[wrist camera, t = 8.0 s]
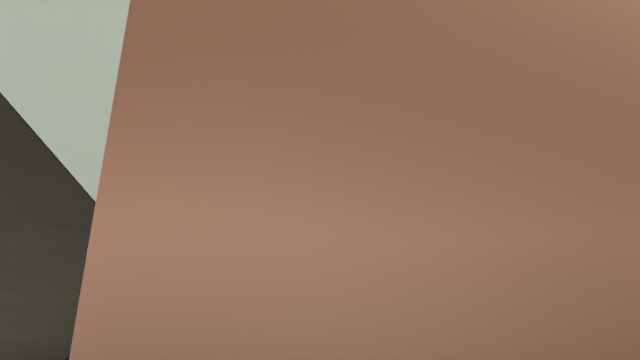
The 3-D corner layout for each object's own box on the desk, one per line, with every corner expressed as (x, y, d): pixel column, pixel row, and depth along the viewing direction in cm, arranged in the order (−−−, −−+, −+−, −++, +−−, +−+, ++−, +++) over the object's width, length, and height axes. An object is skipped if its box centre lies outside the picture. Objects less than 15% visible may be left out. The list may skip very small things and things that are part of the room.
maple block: (425, 406, 15) (1099, 728, 2) (250, 401, 15) (7, 721, 2) (419, 235, 16) (814, -108, 4) (261, 229, 16) (156, -151, 4)
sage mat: (632, 289, 18) (641, 300, 18) (291, 414, 21) (291, 427, 21) (427, -430, 10) (434, -448, 9) (-106, -54, 13) (-124, -52, 12)
